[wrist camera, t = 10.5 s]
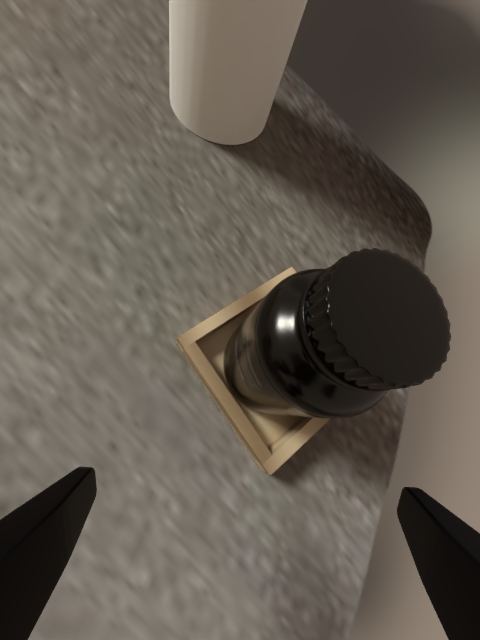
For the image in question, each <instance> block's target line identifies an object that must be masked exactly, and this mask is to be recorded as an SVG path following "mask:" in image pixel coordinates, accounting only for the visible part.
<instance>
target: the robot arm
mask: <svg viewBox="0 0 480 640" xmlns="http://www.w3.org/2000/svg"><path fill="white" fill-rule="evenodd" d="M96 491H97V488H96V477H95V470H94V468H92V467H78V468H76V469H75V470H73V471H72V472H70V473H69V474H67V475H66V476H64V477H63V478H61V479H60V480H58V481H57V482H55V483H54V484H52V485H51V486H50V487H48V488H47V489H45V490H44V491H42V492H41V493H39V494H38V495H36V496H35V497H33V498H32V499H30V500H29V501H27V502H26V503H24V504H23V505H21V506H20V507H18V508H17V509H15V510H14V511H12V512H11V513H9V514H8V515H7V516H5V517H4V518H2V519H1V520H0V640H28V638H29V636H30V634H31V632H32V630H33V628H34V626H35V625H36V623H37V621H38V619H39V617H40V615H41V613H42V611H43V609H44V607H45V605H46V604H47V602H48V600H49V598H50V596H51V594H52V592H53V590H54V588H55V586H56V584H57V583H58V581H59V579H60V577H61V575H62V573H63V571H64V569H65V567H66V565H67V563H68V561H69V559H70V557H71V554H72V552H73V550H74V547H75V545H76V543H77V540H78V538H79V535H80V533H81V531H82V528H83V526H84V524H85V521H86V519H87V516H88V514H89V512H90V509H91V507H92V505H93V502H94V500H95V497H96ZM397 515H398V518H399V522H400V524H401V527H402V529H403V532H404V535H405V538H406V540H407V543H408V546H409V548H410V551H411V554H412V556H413V559H414V562H415V564H416V567H417V570H418V572H419V575H420V578H421V580H422V583H423V585H424V587H425V589H426V592H427V594H428V596H429V598H430V600H431V602H432V605H433V607H434V609H435V611H436V613H437V615H438V618H439V619H440V622H441V624H442V626H443V628H444V630H445V632H446V635H447V637H448V639H449V640H480V533H478V532H477V531H476V530H474V529H473V528H472V527H470V526H469V525H467V524H466V523H465V522H464V521H462V520H461V519H460V518H458V517H457V516H455V515H454V514H453V513H451V512H450V511H449V510H448V509H446V508H445V507H444V506H442V505H441V504H440V503H438V502H437V501H436V500H434V499H433V498H432V497H430V496H429V495H428V494H427V493H425V492H424V491H423V490H421V489H419V488H415V487H404V488H403V489H402V492H401V496H400V500H399V504H398V508H397Z"/></svg>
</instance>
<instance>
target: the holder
mask: <svg viewBox="0 0 480 640" xmlns="http://www.w3.org/2000/svg"><path fill="white" fill-rule="evenodd" d="M294 273H296V272H295V270H294V269H293V268H292V267H291V268H289V269H287V270H286V271H284V272H283V273H281V274H279V275H278V276H276V277H274V278H273V279H271V280H270V281H268V282H266V283H265V284H263V285H261V286H260V287H258V288H257V289H255V290H253V291H252V292H250V293H249V294H247V295H245V296H244V297H242V298H240V299H239V300H237V301H236V302H234V303H232V304H231V305H229V306H227V307H226V308H224V309H223V310H221V311H219V312H218V313H216V314H215V315H213V316H211V317H210V318H208V319H206V320H205V321H203V322H202V323H200V324H198V325H197V326H195V327H193V328H192V329H190V330H189V331H187V332H185V333H184V334H182V335H181V336H179V337H177V344H176V345H177V346H178V348H179V349H180V351H181V352H182V354H183V355H184V357H185V358H186V360H187V361H188V363H189V364H190V366H191V367H192V369H193V370H194V371H195V373H196V374H197V376H198V377H199V379H200V380H201V382H202V383H203V385H204V386H205V388H206V389H207V391H208V392H209V394H210V395H211V397H212V398H213V400H214V401H215V403H216V404H217V406H218V407H219V409H220V410H221V412H222V413H223V415H224V416H225V418H226V419H227V421H228V422H229V424H230V425H231V427H232V428H233V430H234V431H235V433H236V434H237V436H238V437H239V439H240V440H241V442H242V443H243V445H244V446H245V448H246V449H247V451H248V452H249V453H250V455H251V456H252V458H253V459H254V461H255V462H256V464H257V465H258V467H259V468H260V469H261V470H263V471H264V472H265V473H267V474H268V475H270V476H271V475H272V474H273V473H274V472H275V471H276V470H277V469H278V468H279V467H280V466H281V465H282V464H283V463H284V462H285V461H287V460H288V459H289V458H290V457H291V456H292V455H293V454H294V453H295V452H296V451H297V450H298V449H299V448H300V447H301V446H302V445H303V444H305V443H306V442H307V441H308V440H309V439H310V438H311V437H312V436H313V435H314V434H315V433H316V432H317V431H318V430H319V429H320V428H321V427H323V426H324V425H325V424H326V423H327V422H328V421H329V420H330V419H329V418H313V417H298V416H282V415H270V414H263V413H260V412H257V411H254V410H252V409H250V408H248V407H247V406H245V405H244V404H243V403H241V402H240V401H239V400H238V399H237V398H236V396H235V395H234V394H233V392H232V391H231V389H230V388H229V386H228V383H227V381H226V378H225V374H224V368H223V357H224V351H225V348H226V345H227V343H228V341H229V339H230V337H231V335H232V334H233V333H234V332H235V330H236V329H237V328H238V327H239V325H240V324H241V323H242V322H243V321H244V320H245V319H246V318H247V316H248V315H249V314H250V313H251V312H252V311H253V310H254V309H255V307H256V306H257V305H258V304H259V303H260V302H261V301H262V300H263V298H264V297H265V296H266V295H267V294H268V293H269V292H270V291H271V290H272V289H273V288H274V287H275V286H276V285H277V284H278V283H279V282H281V281H282V280H283V279H285V278H286V277H288V276H290V275H292V274H294Z"/></svg>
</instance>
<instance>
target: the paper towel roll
mask: <svg viewBox="0 0 480 640" xmlns="http://www.w3.org/2000/svg"><path fill="white" fill-rule="evenodd" d="M306 3H307V0H169V46H170V103H171V107H172V109H173V111H174V113H175V115H176V117H177V118H178V119H179V121H180V122H181V123H182V124H183V125H184V126H185V127H186V128H187V129H189V130H190V131H191V132H193V133H194V134H196V135H197V136H199V137H201V138H203V139H206V140H208V141H211V142H214V143H218V144H224V145H239V144H244V143H247V142H250V141H252V140H254V139H255V138H257V137H258V136H259V135H260V134H261V133H262V131H263V129H264V127H265V124H266V121H267V118H268V116H269V113H270V110H271V107H272V104H273V101H274V98H275V95H276V92H277V89H278V86H279V83H280V80H281V77H282V74H283V71H284V68H285V65H286V62H287V59H288V56H289V53H290V50H291V47H292V44H293V42H294V39H295V36H296V33H297V30H298V27H299V23H300V21H301V18H302V15H303V12H304V9H305V6H306Z"/></svg>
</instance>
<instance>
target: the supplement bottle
mask: <svg viewBox="0 0 480 640" xmlns="http://www.w3.org/2000/svg"><path fill="white" fill-rule="evenodd" d="M450 339H451V334H450V322H449V320H448V314H447V310H446V308H445V307H444V304H443V299H442V298H441V297H440V295H439V294H438V292H437V289H436V287H435V286H434V285H433V284H432V283H431V282H430V280H429V278H428V277H427V276H426V275H425V274H423V273H422V271H421V270H420V269H419V267H417V266H415V265H413V264H412V263H411V262H410V261H409V260H408V259H404V258H402V257H401V256H400V255H399V254H396V253H391V252H390V251H388V250H379V249H377V248H374V249H371V250H370V249H362V250H360V251H354V252H351V253H350V254H349V255H347V256H345V257H342V258H341V259H339V260H338V261H337V262H336V263H335V264H334V265H332V266H331V267H329V268H327V269H309V270H304V271H300V272H297V273H294V274H292V275H290V276H288V277H286V278H285V279H283V280H282V281H281V282H279V283H278V284H277V285H276V286H275V287H274V288H273V289H272V290H271V291H270V292H269V293H268V294H267V295H266V296H265V297H264V298H263V300H262V301H261V302H260V303H259V304H258V305H257V306H256V307H255V309H254V310H253V311H252V312H251V313H250V314H249V315H248V316H247V318H246V319H245V320H244V321H243V322H242V323H241V324H240V325H239V327H238V328H237V329H236V330H235V332H234V333H233V334H232V335H231V337H230V339H229V341H228V343H227V345H226V348H225V351H224V357H223V368H224V374H225V378H226V381H227V383H228V386H229V388H230V389H231V391H232V392H233V394H234V395H235V396H236V398H237V399H238V400H239V401H240V402H241V403H243V404H244V405H245V406H247V407H248V408H250V409H252V410H254V411H257V412H260V413H263V414H270V415H282V416H298V417H313V418H329V419H334V418H347V417H352V416H355V415H358V414H361V413H363V412H365V411H367V410H369V409H370V408H372V407H373V406H374V405H376V404H377V403H378V402H379V401H380V400H381V399H382V398H383V397H384V396H385V394H386V393H387V392H388V390H391V389H400V388H407V387H410V386H415V385H420V384H422V383H423V382H424V381H425V380H428V379H431V378H432V377H433V376H434V374H435V372H438V371H440V369H441V366H442V364H443V363H444V362H445V361H446V359H447V353H448V352H449V350H450V345H449V342H450Z"/></svg>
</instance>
